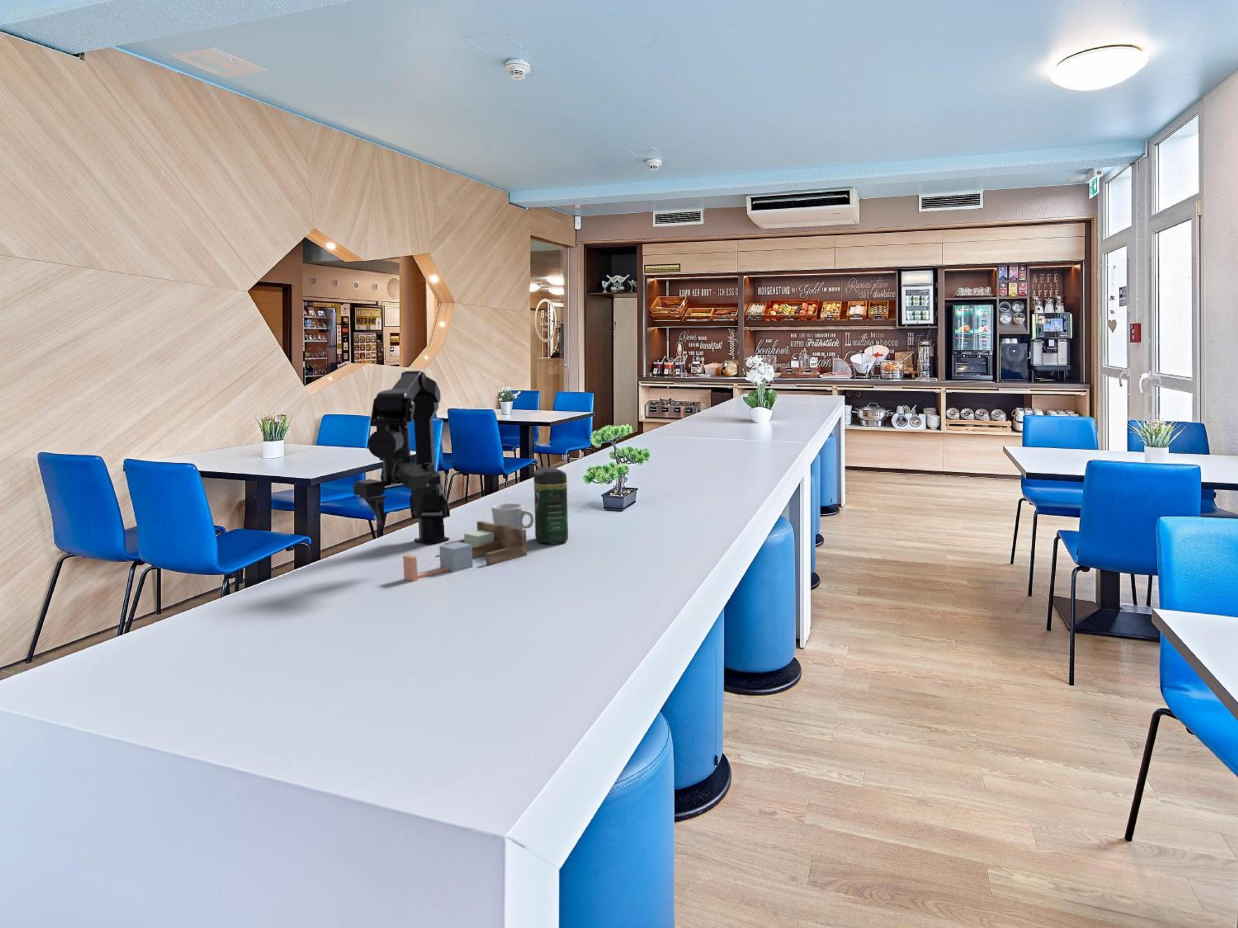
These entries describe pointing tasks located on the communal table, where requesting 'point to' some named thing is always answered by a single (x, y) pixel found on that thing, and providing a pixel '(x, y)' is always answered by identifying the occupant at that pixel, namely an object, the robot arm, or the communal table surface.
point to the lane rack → (500, 543)
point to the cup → (511, 515)
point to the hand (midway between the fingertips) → (400, 521)
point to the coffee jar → (550, 505)
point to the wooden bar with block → (442, 560)
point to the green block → (478, 537)
